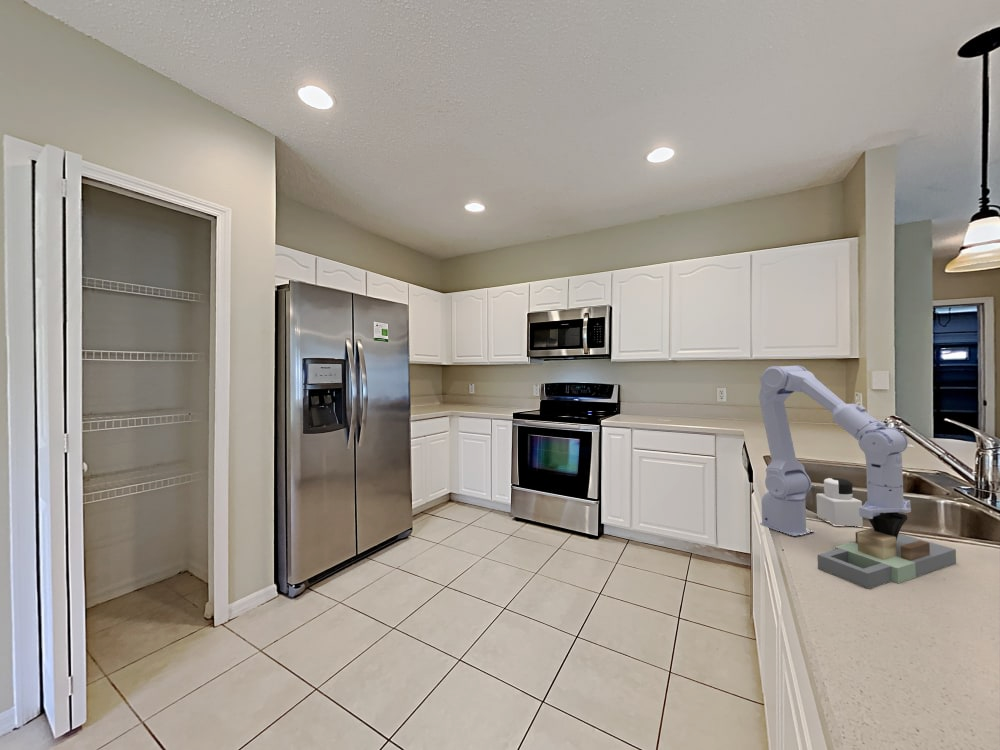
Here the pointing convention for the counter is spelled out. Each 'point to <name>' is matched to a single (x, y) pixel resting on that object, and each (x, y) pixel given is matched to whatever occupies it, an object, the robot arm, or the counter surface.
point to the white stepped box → (839, 503)
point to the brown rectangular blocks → (910, 549)
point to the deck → (883, 563)
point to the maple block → (877, 544)
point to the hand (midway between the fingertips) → (886, 546)
